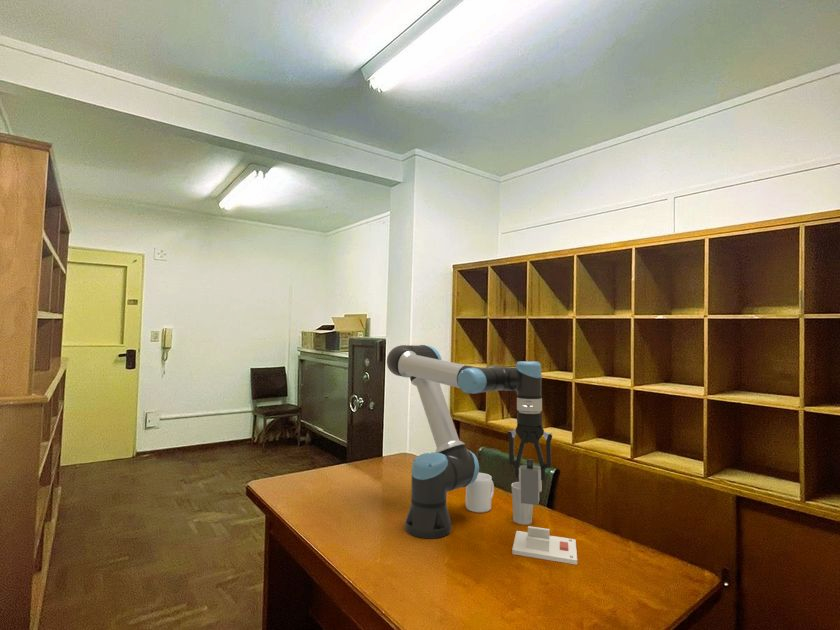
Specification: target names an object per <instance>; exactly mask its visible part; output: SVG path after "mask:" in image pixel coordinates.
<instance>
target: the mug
mask: <svg viewBox="0 0 840 630" xmlns="http://www.w3.org/2000/svg"><path fill="white" fill-rule="evenodd" d="M492 479H493V478H492V476H491V475H490V474H488V473H484V472H479V473H478V475H477V478H476V480H475V481H474V482H473V483H471V484H469V485H468V486H465V508H466V509H467V510H468V511H470V512H473V513H480V514H481V513H487V512H489V511H491V509H492V498H493V497H494V494H495V484H494V481H493V480H492Z"/></svg>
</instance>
